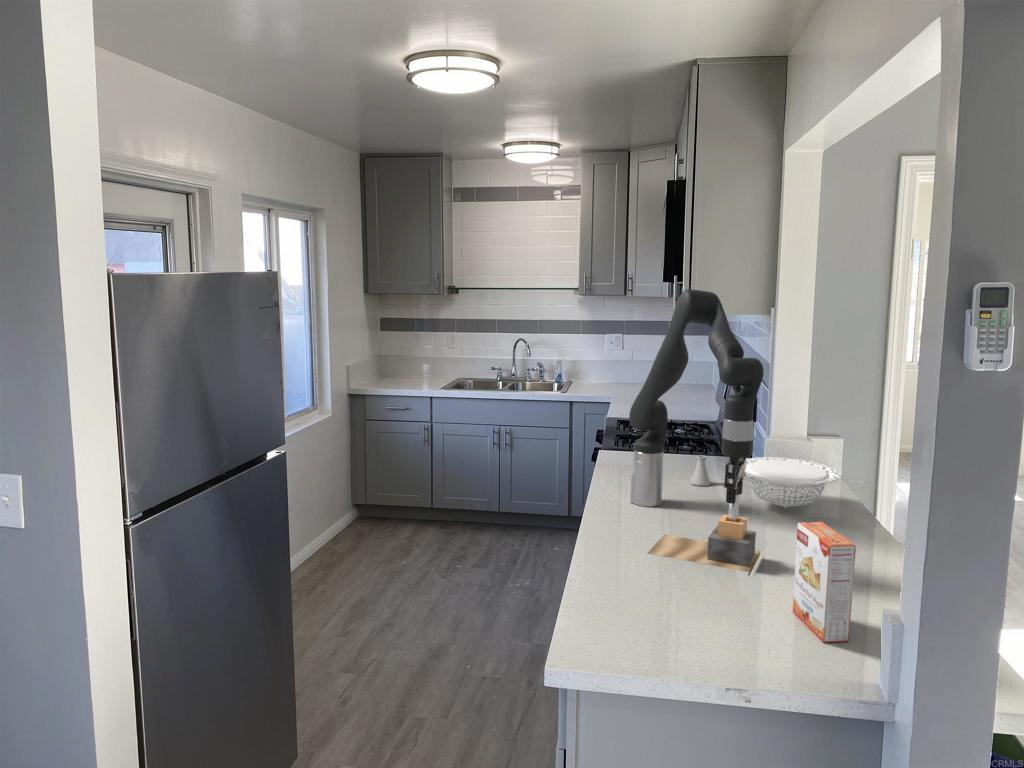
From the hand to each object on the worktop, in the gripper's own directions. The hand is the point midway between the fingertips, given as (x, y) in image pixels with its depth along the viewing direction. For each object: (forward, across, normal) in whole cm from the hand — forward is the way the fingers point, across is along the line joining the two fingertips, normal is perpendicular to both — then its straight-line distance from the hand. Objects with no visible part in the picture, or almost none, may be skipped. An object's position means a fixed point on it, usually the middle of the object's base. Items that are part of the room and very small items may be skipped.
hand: (734, 498), depth 194 cm
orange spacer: (+10, 0, 0) cm, 10 cm away
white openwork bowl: (+17, -52, +6) cm, 55 cm away
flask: (+17, -67, -24) cm, 73 cm away
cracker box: (+17, +29, +24) cm, 41 cm away
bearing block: (+17, 0, -7) cm, 18 cm away
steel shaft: (+10, 0, 0) cm, 10 cm away
